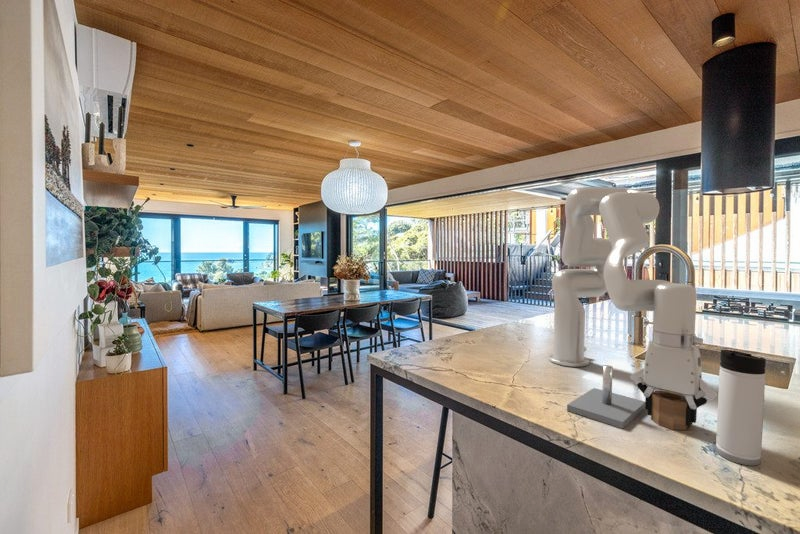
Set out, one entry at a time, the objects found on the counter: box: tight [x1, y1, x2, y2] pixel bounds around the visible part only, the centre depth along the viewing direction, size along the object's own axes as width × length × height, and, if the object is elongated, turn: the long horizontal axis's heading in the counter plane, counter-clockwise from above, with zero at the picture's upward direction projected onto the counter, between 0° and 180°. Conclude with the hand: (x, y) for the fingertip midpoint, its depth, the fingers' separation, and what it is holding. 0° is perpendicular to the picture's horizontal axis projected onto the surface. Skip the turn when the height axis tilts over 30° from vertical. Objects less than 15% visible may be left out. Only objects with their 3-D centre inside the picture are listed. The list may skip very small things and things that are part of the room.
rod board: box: [566, 387, 645, 430], centre depth 91 cm, size 16×12×2 cm
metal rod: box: [601, 364, 614, 405], centre depth 90 cm, size 2×2×9 cm
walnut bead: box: [650, 390, 689, 431], centre depth 84 cm, size 6×6×6 cm
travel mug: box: [715, 349, 767, 467], centre depth 70 cm, size 6×7×20 cm
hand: (669, 418), depth 84 cm, fingers closed on walnut bead, 6 cm apart
